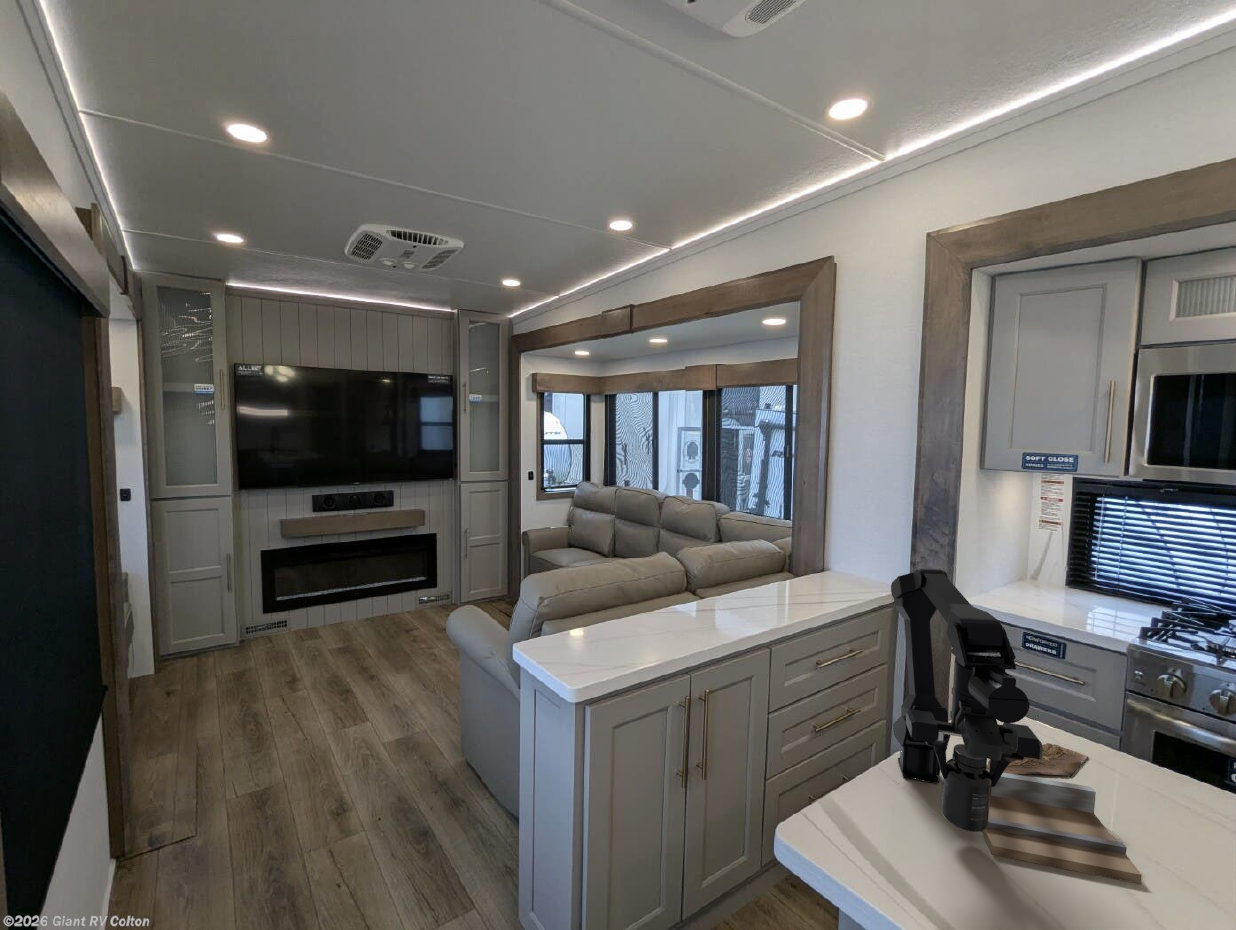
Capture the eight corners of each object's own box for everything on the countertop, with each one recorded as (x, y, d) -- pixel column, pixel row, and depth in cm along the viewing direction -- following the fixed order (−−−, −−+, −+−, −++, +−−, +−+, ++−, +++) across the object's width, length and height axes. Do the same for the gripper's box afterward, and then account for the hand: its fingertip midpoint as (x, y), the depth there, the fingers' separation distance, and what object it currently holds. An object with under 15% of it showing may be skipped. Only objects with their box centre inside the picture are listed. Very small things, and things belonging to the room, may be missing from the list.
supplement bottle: (983, 812, 98) (991, 747, 97) (990, 839, 92) (999, 769, 91) (938, 799, 101) (945, 735, 100) (941, 824, 95) (949, 756, 94)
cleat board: (991, 854, 94) (993, 822, 93) (963, 793, 109) (965, 766, 109) (1140, 883, 88) (1143, 850, 88) (1089, 815, 103) (1091, 786, 103)
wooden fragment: (1061, 743, 127) (1062, 738, 127) (1112, 773, 116) (1112, 768, 116) (960, 755, 122) (960, 750, 122) (1003, 787, 112) (1003, 782, 112)
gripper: (920, 705, 90) (915, 800, 91) (1061, 725, 84) (1054, 825, 85) (907, 675, 100) (903, 760, 101) (1031, 691, 95) (1025, 781, 96)
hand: (967, 781), depth 96 cm, fingers closed on supplement bottle, 7 cm apart
